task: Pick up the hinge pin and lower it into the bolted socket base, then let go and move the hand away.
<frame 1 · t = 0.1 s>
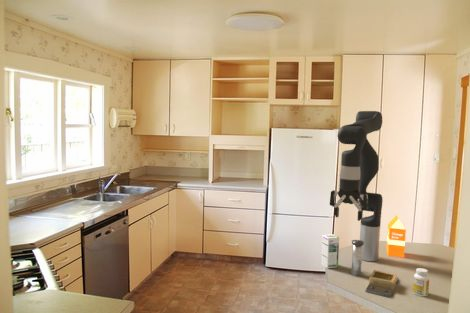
hand: (347, 218, 141), 29 cm above the countertop, tool pointing down, fingers open, 8 cm apart
hinge pin: (356, 274, 160), on the countertop
bolted socket base: (382, 285, 149), on the countertop
supplement bottle: (420, 294, 142), on the countertop
syrup box: (329, 266, 169), on the countertop
orange juice: (394, 254, 189), on the countertop
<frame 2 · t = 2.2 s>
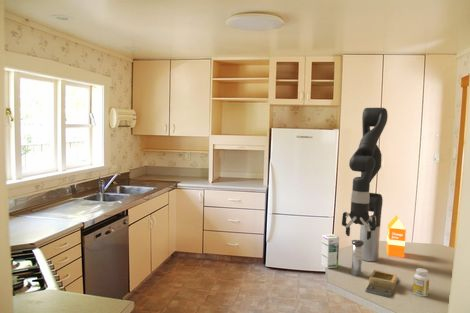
hand: (358, 237, 158), 17 cm above the countertop, tool pointing down, fingers open, 8 cm apart
nothing on the countertop moved.
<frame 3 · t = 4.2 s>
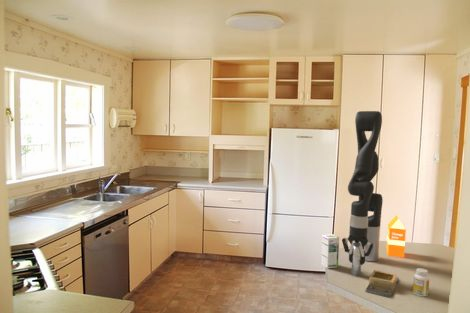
hand: (356, 263, 159), 5 cm above the countertop, tool pointing down, fingers closed on hinge pin, 4 cm apart
hinge pin: (356, 274, 160), on the countertop, touching gripper
everything else where it was.
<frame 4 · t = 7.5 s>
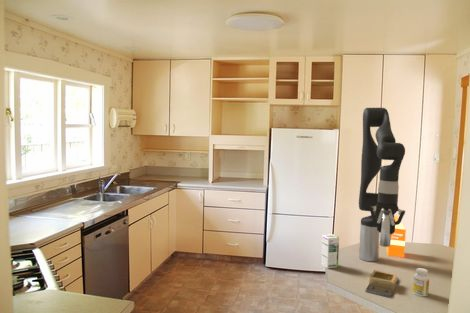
hand: (385, 232, 147), 22 cm above the countertop, tool pointing down, fingers closed on hinge pin, 4 cm apart
hinge pin: (384, 245, 148), point 17 cm above the countertop, touching gripper
everything else where it was.
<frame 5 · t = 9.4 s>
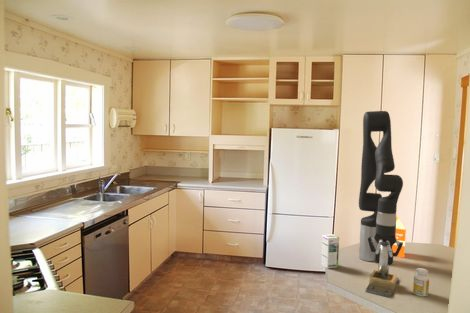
hand: (383, 263, 148), 9 cm above the countertop, tool pointing down, fingers closed on hinge pin, 4 cm apart
hinge pin: (383, 276, 149), point 4 cm above the countertop, touching gripper
everything else where it was.
when the fingers open (7 cm above the countertop, at t = 11.0 s): hinge pin drops 1 cm, resting in bolted socket base.
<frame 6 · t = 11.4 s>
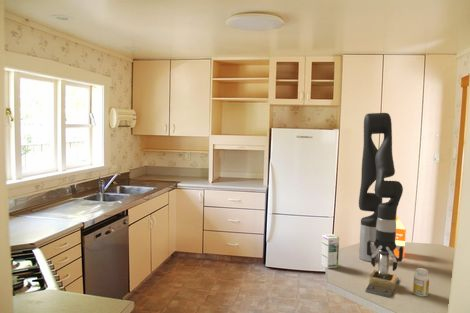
hand: (383, 268, 148), 7 cm above the countertop, tool pointing down, fingers open, 7 cm apart
hinge pin: (382, 285, 149), resting in bolted socket base
everything else where it was.
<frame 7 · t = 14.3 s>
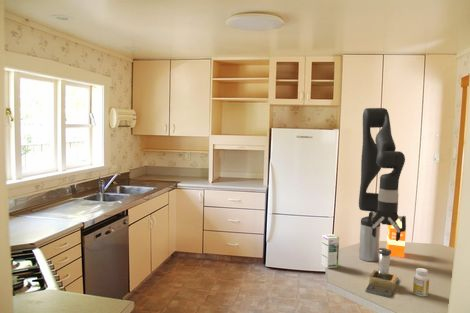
hand: (385, 238, 148), 20 cm above the countertop, tool pointing down, fingers open, 8 cm apart
nothing on the countertop moved.
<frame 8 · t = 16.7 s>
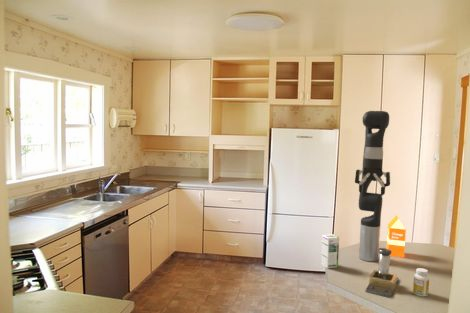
hand: (371, 194, 157), 36 cm above the countertop, tool pointing down, fingers open, 8 cm apart
nothing on the countertop moved.
at the end: hinge pin 0.1 cm off-centre on the bolted socket base, point 0.0 cm above the bolted socket base's base; hinge pin tilted 1°; the gripper is holding nothing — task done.
